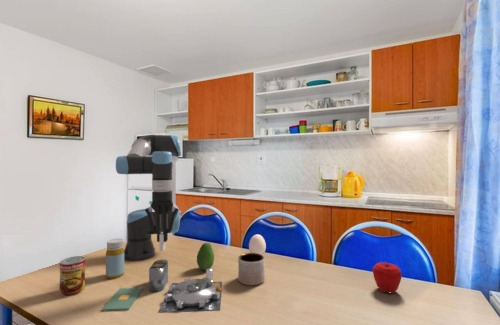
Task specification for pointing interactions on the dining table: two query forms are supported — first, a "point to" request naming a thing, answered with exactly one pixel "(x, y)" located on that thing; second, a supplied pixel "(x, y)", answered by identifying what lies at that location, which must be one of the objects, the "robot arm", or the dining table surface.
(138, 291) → the green flat board
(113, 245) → the bottle
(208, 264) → the fruit
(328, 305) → the dining table surface
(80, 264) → the canned food
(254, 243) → the egg
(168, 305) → the bearing plate
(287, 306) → the dining table surface
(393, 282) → the apple
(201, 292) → the sprocket
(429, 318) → the dining table surface
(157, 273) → the silver capsule block
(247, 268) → the planter
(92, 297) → the dining table surface
